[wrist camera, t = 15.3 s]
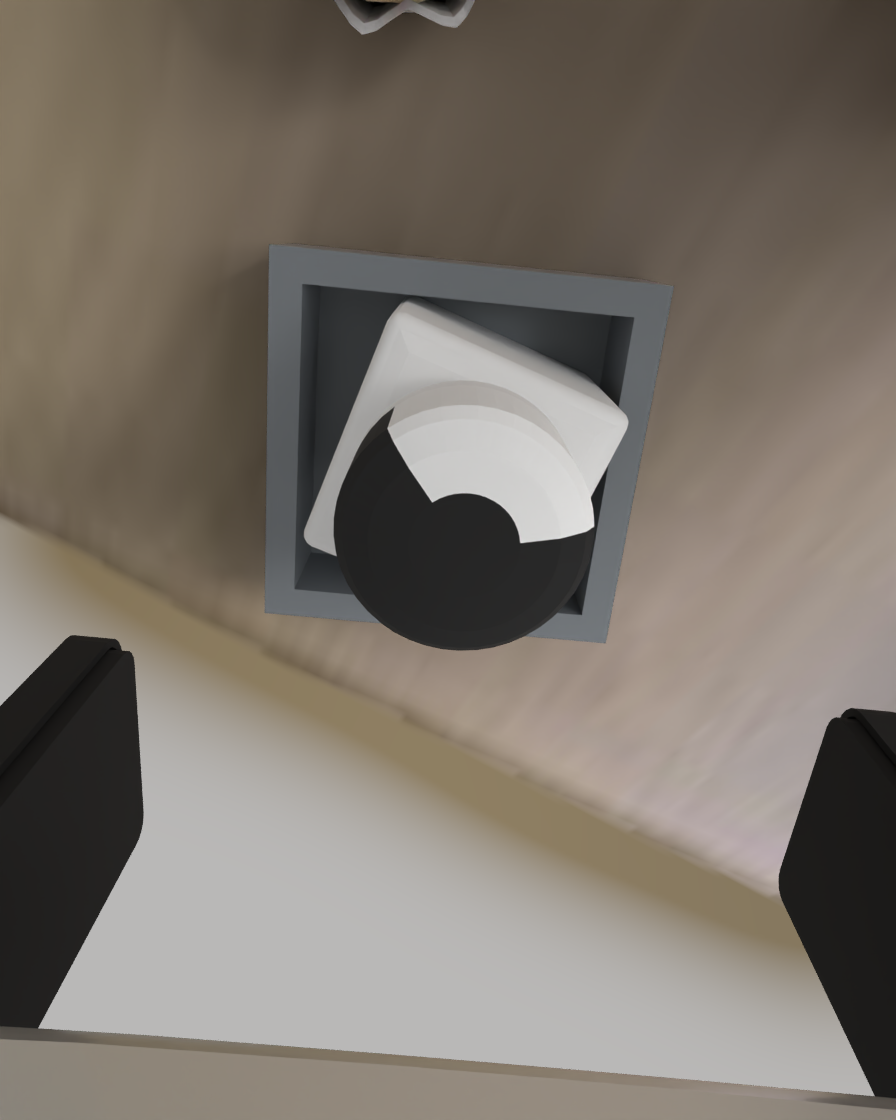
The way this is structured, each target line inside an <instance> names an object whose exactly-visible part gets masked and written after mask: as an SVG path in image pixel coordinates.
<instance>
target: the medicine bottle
mask: <svg viewBox="0 0 896 1120" xmlns="http://www.w3.org/2000/svg"><path fill="white" fill-rule="evenodd" d="M628 423H629V422H628V418H627V415H626V414H625V413H624V412H623V411H622V410H621V409H620V408H619V407H618V406H617V405H616V404H615V403H614V402H613V401H612V400H611V399H610V398H609V397H608V396H607V395H606V394H605V393H604V392H603V391H602V390H601V389H600V388H599V387H598V386H597V385H596V384H595V383H594V382H593V381H592V380H591V379H590V378H589V377H588V376H587V375H586V374H584V373H582V372H580V371H578V370H575V369H573V368H571V367H569V366H567V365H565V364H562V363H560V362H558V361H556V360H554V359H552V358H549V357H547V356H545V355H543V354H541V353H539V352H536V351H534V350H532V349H530V348H528V347H526V346H523V345H521V344H519V343H517V342H515V341H512V340H510V339H508V338H506V337H504V336H502V335H499V334H497V333H495V332H493V331H491V330H489V329H486V328H484V327H482V326H480V325H478V324H476V323H473V322H471V321H469V320H467V319H465V318H463V317H460V316H458V315H456V314H454V313H452V312H450V311H447V310H445V309H443V308H441V307H439V306H437V305H434V304H432V303H430V302H428V301H426V300H424V299H421V298H419V297H417V296H412V295H410V296H408V297H405V298H404V300H403V301H402V302H401V303H400V305H399V306H398V307H397V309H396V310H395V311H394V312H393V314H392V315H391V316H390V318H389V319H388V320H387V323H386V325H385V328H384V330H383V333H382V335H381V338H380V340H379V343H378V345H377V348H376V350H375V353H374V355H373V358H372V361H371V363H370V366H369V368H368V371H367V373H366V376H365V378H364V381H363V383H362V386H361V388H360V391H359V393H358V396H357V398H356V401H355V403H354V406H353V408H352V411H351V413H350V416H349V418H348V421H347V424H346V426H345V429H344V431H343V434H342V436H341V439H340V441H339V444H338V446H337V449H336V451H335V454H334V456H333V459H332V461H331V464H330V466H329V469H328V471H327V474H326V476H325V479H324V481H323V484H322V487H321V489H320V492H319V494H318V497H317V499H316V502H315V504H314V507H313V509H312V512H311V514H310V517H309V519H308V522H307V524H306V527H305V529H304V538H305V540H306V542H307V543H308V544H309V545H311V546H312V547H315V548H317V549H320V550H322V551H325V552H327V553H330V554H332V555H335V556H337V558H338V562H339V565H340V569H341V571H342V573H343V575H344V577H345V580H346V582H347V584H348V586H349V587H350V589H351V590H352V592H353V593H354V595H355V597H356V598H357V599H358V601H359V602H360V603H361V604H362V605H363V606H364V608H365V609H366V610H367V611H368V612H369V613H370V614H371V615H372V616H374V617H375V618H376V619H377V620H378V621H379V622H380V623H382V624H383V625H385V626H386V627H388V628H389V629H391V630H392V631H393V632H395V633H397V634H399V635H401V636H403V637H405V638H407V639H409V640H412V641H415V642H417V643H420V644H423V645H426V646H431V647H435V648H440V649H448V650H479V649H485V648H492V647H496V646H499V645H503V644H506V643H510V642H512V641H514V640H517V639H519V638H521V637H524V636H526V635H528V634H529V633H531V632H533V631H534V630H536V629H538V628H539V627H541V626H542V625H543V624H545V623H546V622H547V621H549V620H550V619H551V618H552V617H554V616H555V615H556V614H557V613H558V612H559V610H560V609H561V608H562V607H563V606H564V605H565V604H566V603H567V602H568V600H569V599H570V598H571V596H572V595H573V594H574V592H575V591H576V589H577V587H578V585H579V584H580V582H581V580H582V578H583V576H584V574H585V571H586V569H587V566H588V563H589V561H590V556H591V552H592V547H593V541H594V514H593V507H592V502H591V496H592V494H593V492H594V490H595V488H596V487H597V485H598V483H599V481H600V479H601V477H602V475H603V473H604V472H605V470H606V468H607V466H608V464H609V462H610V460H611V458H612V456H613V455H614V453H615V451H616V449H617V447H618V445H619V443H620V441H621V440H622V438H623V436H624V434H625V432H626V430H627V427H628Z"/></svg>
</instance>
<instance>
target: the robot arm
mask: <svg viewBox="0 0 896 1120" xmlns="http://www.w3.org/2000/svg"><path fill="white" fill-rule="evenodd" d="M136 699H137V698H136V682H135V665H134V657H133V655H132V653H131V652H130V651H122V650H121V646H120V644H119V642H118V641H117V640H116V639H108V638H98V637H87V636H76V635H72V636H69V637H68V638H67V639H65V640H64V642H63V643H62V644H61V645H60V646H59V647H58V648H57V649H56V650H55V651H54V652H53V653H52V654H51V655H50V656H49V657H48V658H47V659H46V660H45V661H44V662H43V663H42V664H41V665H40V666H39V667H38V668H37V669H36V670H35V671H34V672H33V673H32V674H31V675H30V676H29V677H28V678H27V679H26V681H24V682H23V684H21V686H19V688H18V689H17V690H16V691H15V692H14V693H13V694H12V695H11V696H10V697H9V698H8V699H7V700H6V701H5V702H4V703H3V704H2V705H1V706H0V1120H896V713H894V712H887V711H876V710H866V709H855V708H850V709H848V710H846V711H845V712H844V713H843V714H842V715H841V717H840V718H837V717H836V718H833V719H832V720H831V721H830V722H829V724H828V726H827V728H826V731H825V734H824V737H823V741H822V744H821V747H820V750H819V753H818V756H817V759H816V762H815V765H814V768H813V771H812V774H811V777H810V780H809V783H808V786H807V789H806V792H805V795H804V798H803V802H802V805H801V808H800V811H799V814H798V817H797V820H796V823H795V826H794V829H793V832H792V835H791V838H790V841H789V844H788V847H787V850H786V853H785V856H784V859H783V862H782V866H781V869H780V873H779V891H780V896H781V898H782V901H783V903H784V906H785V908H786V910H787V912H788V914H789V916H790V918H791V920H792V922H793V925H794V927H795V929H796V931H797V933H798V935H799V937H800V939H801V941H802V943H803V945H804V948H805V950H806V952H807V954H808V956H809V958H810V960H811V962H812V964H813V967H814V969H815V971H816V973H817V975H818V977H819V979H820V981H821V983H822V985H823V988H824V990H825V992H826V994H827V996H828V998H829V1000H830V1002H831V1005H832V1006H833V1009H834V1011H835V1013H836V1015H837V1017H838V1019H839V1021H840V1024H841V1026H842V1028H843V1030H844V1032H845V1034H846V1036H847V1038H848V1040H849V1042H850V1045H851V1047H852V1049H853V1051H854V1053H855V1055H856V1057H857V1059H858V1061H859V1064H860V1066H861V1068H862V1070H863V1072H864V1074H865V1076H866V1078H867V1080H868V1082H869V1084H870V1087H871V1089H872V1091H873V1093H874V1095H875V1096H864V1095H853V1094H842V1093H831V1092H819V1091H809V1090H808V1091H807V1090H798V1089H786V1088H776V1087H763V1086H754V1085H753V1086H752V1085H742V1084H731V1083H720V1082H709V1081H698V1080H687V1079H675V1078H664V1077H652V1076H640V1075H628V1074H618V1073H606V1072H594V1071H582V1070H571V1069H559V1068H547V1067H535V1066H524V1065H512V1064H499V1063H488V1062H475V1061H464V1060H452V1059H440V1058H427V1057H416V1056H404V1055H392V1054H380V1053H367V1052H354V1051H342V1050H328V1049H316V1048H303V1047H291V1046H278V1045H265V1044H252V1043H239V1042H227V1041H214V1040H200V1039H188V1038H175V1037H163V1036H149V1035H135V1034H117V1033H101V1032H86V1031H70V1030H53V1029H38V1027H39V1025H40V1023H41V1022H42V1020H43V1018H44V1016H45V1014H46V1012H47V1010H48V1008H49V1007H50V1005H51V1003H52V1001H53V999H54V997H55V995H56V994H57V992H58V990H59V988H60V986H61V984H62V982H63V980H64V979H65V977H66V975H67V973H68V971H69V969H70V967H71V965H72V964H73V962H74V960H75V958H76V956H77V954H78V952H79V950H80V949H81V947H82V945H83V943H84V941H85V939H86V938H87V936H88V934H89V932H90V930H91V928H92V926H93V924H94V923H95V921H96V919H97V917H98V915H99V913H100V911H101V909H102V907H103V906H104V904H105V902H106V900H107V898H108V896H109V895H110V893H111V891H112V889H113V887H114V885H115V883H116V881H117V880H118V878H119V876H120V874H121V872H122V870H123V868H124V867H125V865H126V863H127V861H128V859H129V857H130V855H131V853H132V852H133V850H134V848H135V846H136V844H137V841H138V840H139V837H140V833H141V830H142V825H143V797H142V780H141V764H140V747H139V731H138V715H137V700H136Z"/></svg>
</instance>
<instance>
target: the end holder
mask: <svg viewBox="0 0 896 1120" xmlns="http://www.w3.org/2000/svg"><path fill="white" fill-rule="evenodd" d="M673 289H674V286H671V285H667V284H662V283H658V282H653V281H649V280H644V279H635V278H625V277H616V276H606V275H596V274H586V273H577V272H567V271H557V270H548V269H538V268H528V267H519V266H509V265H499V264H490V263H480V262H470V261H460V260H451V259H441V258H431V257H422V256H412V255H402V254H393V253H383V252H373V251H364V250H354V249H344V248H334V247H325V246H315V245H305V244H296V243H292V244H269V295H268V380H267V464H266V549H265V613H271V614H282V615H294V616H305V617H316V618H327V619H338V620H350V621H361V622H372V623H380V622H379V621H378V620H377V619H376V618H375V617H374V616H372V615H371V614H370V613H369V612H368V611H367V610H366V609H365V608H364V606H363V605H362V604H361V603H360V602H359V601H358V599H357V598H356V597H355V595H354V593H353V592H352V590H351V589H350V587H349V586H348V584H347V582H346V580H345V577H344V575H343V573H342V571H341V569H340V565H339V562H338V558H337V556H335V555H332V554H330V553H327V552H325V551H322V550H320V549H317V548H315V547H312V546H311V545H309V544H308V543H307V542H306V540H305V538H304V529H305V527H306V524H307V522H308V519H309V517H310V514H311V512H312V509H313V507H314V504H315V502H316V499H317V497H318V494H319V492H320V489H321V487H322V484H323V481H324V479H325V476H326V474H327V471H328V469H329V466H330V464H331V461H332V459H333V456H334V454H335V451H336V449H337V446H338V444H339V441H340V439H341V436H342V434H343V431H344V429H345V426H346V424H347V421H348V418H349V416H350V413H351V411H352V408H353V406H354V403H355V401H356V398H357V396H358V393H359V391H360V388H361V386H362V383H363V381H364V378H365V376H366V373H367V371H368V368H369V366H370V363H371V361H372V358H373V355H374V353H375V350H376V348H377V345H378V343H379V340H380V338H381V335H382V333H383V330H384V328H385V325H386V323H387V320H388V319H389V318H390V316H391V315H392V314H393V312H394V311H395V310H396V309H397V307H398V306H399V305H400V303H401V302H402V301H403V300H404V298H405V297H408V296H410V295H412V296H417V297H419V298H421V299H424V300H426V301H428V302H430V303H432V304H434V305H437V306H439V307H441V308H443V309H445V310H447V311H450V312H452V313H454V314H456V315H458V316H460V317H463V318H465V319H467V320H469V321H471V322H473V323H476V324H478V325H480V326H482V327H484V328H486V329H489V330H491V331H493V332H495V333H497V334H499V335H502V336H504V337H506V338H508V339H510V340H512V341H515V342H517V343H519V344H521V345H523V346H526V347H528V348H530V349H532V350H534V351H536V352H539V353H541V354H543V355H545V356H547V357H549V358H552V359H554V360H556V361H558V362H560V363H562V364H565V365H567V366H569V367H571V368H573V369H575V370H578V371H580V372H582V373H584V374H586V375H587V376H588V377H589V378H590V379H591V380H592V381H593V382H594V383H595V384H596V385H597V386H598V387H599V388H600V389H601V390H602V391H603V392H604V393H605V394H606V395H607V396H608V397H609V398H610V399H611V400H612V401H613V402H614V403H615V404H616V405H617V406H618V407H619V408H620V409H621V410H622V411H623V412H624V413H625V414H626V415H627V418H628V422H629V423H628V427H627V430H626V432H625V434H624V436H623V438H622V440H621V441H620V443H619V445H618V447H617V449H616V451H615V453H614V455H613V456H612V458H611V460H610V462H609V464H608V466H607V468H606V470H605V472H604V473H603V475H602V477H601V479H600V481H599V483H598V485H597V487H596V488H595V490H594V492H593V494H592V496H591V502H592V507H593V514H594V541H593V547H592V552H591V556H590V561H589V563H588V566H587V569H586V571H585V574H584V576H583V578H582V580H581V582H580V584H579V585H578V587H577V589H576V591H575V592H574V594H573V595H572V596H571V598H570V599H569V600H568V602H567V603H566V604H565V605H564V606H563V607H562V608H561V609H560V610H559V612H558V613H557V614H556V615H555V616H554V617H552V618H551V619H550V620H549V621H547V622H546V623H545V624H543V625H542V626H541V627H539V628H538V629H536V630H534V631H533V632H531V633H529V634H528V635H526V636H529V637H541V638H552V639H563V640H574V641H586V642H597V643H606V638H607V633H608V628H609V623H610V617H611V612H612V607H613V602H614V596H615V591H616V586H617V581H618V576H619V570H620V565H621V560H622V555H623V549H624V544H625V539H626V534H627V529H628V523H629V518H630V513H631V508H632V503H633V497H634V492H635V487H636V482H637V476H638V471H639V466H640V461H641V456H642V450H643V445H644V440H645V435H646V429H647V424H648V419H649V414H650V409H651V403H652V398H653V393H654V388H655V382H656V377H657V372H658V367H659V362H660V356H661V351H662V346H663V341H664V335H665V330H666V325H667V320H668V315H669V309H670V304H671V299H672V294H673Z"/></svg>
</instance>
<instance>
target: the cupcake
mask: <svg viewBox="0 0 896 1120" xmlns="http://www.w3.org/2000/svg"><path fill="white" fill-rule="evenodd" d="M334 1H335V3H336V4H337V6H338V7H339V9H340V10H341V11H342V13H343V14H344V16H345V17H346V19H347V20H348V22H349V23H350V25H351V26H353V27H354V28H355V29H356V30H357V31H359V32H360V33H361V34H362V35H364V34H367V33H371V32H374V31H377V30H378V29H380V28H381V27H383V26H384V25H385V24H387V23H388V22H390V21H391V20H393V19H394V18H396V17H397V16H398V15H400V14H401V13H403V12H408V13H414V12H416V13H418V14H420V15H422V16H424V17H426V18H428V19H430V20H432V21H434V22H436V23H438V24H440V25H442V26H448V27H455V28H457V27H458V26H459V25H460V24H461V23H462V21H463V20H464V19H465V18H466V17H467V15H468V13H469V11H470V9H471V7H472V5H473V3H474V1H475V0H334Z"/></svg>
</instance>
